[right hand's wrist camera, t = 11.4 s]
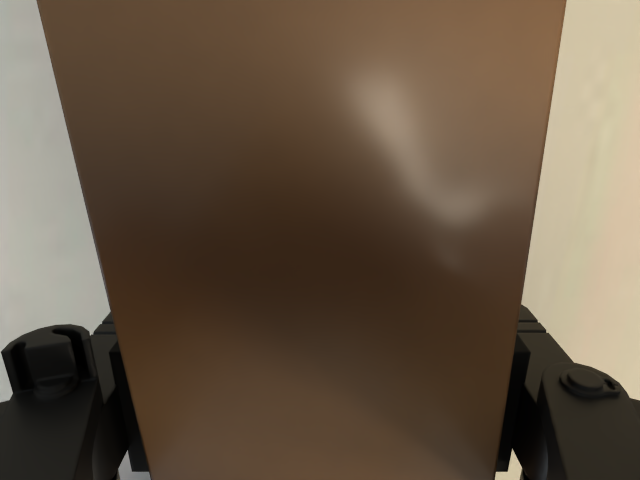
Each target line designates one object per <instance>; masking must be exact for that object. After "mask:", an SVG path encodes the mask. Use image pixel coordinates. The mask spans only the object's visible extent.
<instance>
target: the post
mask: <svg viewBox="0 0 640 480" xmlns="http://www.w3.org/2000/svg"><path fill="white" fill-rule="evenodd" d="M566 1H567V0H37V4H38V8H39V13H40V17H41V21H42V25H43V29H44V33H45V38H46V42H47V46H48V50H49V54H50V59H51V63H52V67H53V71H54V75H55V79H56V84H57V88H58V92H59V96H60V100H61V105H62V109H63V113H64V117H65V121H66V126H67V130H68V134H69V138H70V142H71V146H72V151H73V155H74V159H75V163H76V167H77V172H78V176H79V180H80V184H81V188H82V193H83V197H84V201H85V205H86V209H87V213H88V218H89V222H90V226H91V230H92V234H93V239H94V243H95V247H96V251H97V255H98V259H99V264H100V268H101V272H102V276H103V280H104V285H105V289H106V293H107V297H108V301H109V306H110V310H111V314H112V318H113V322H114V326H115V331H116V335H117V339H118V343H119V347H120V352H121V356H122V360H123V364H124V368H125V372H126V377H127V381H128V385H129V389H130V393H131V398H132V402H133V406H134V410H135V414H136V419H137V423H138V427H139V431H140V435H141V439H142V444H143V448H144V452H145V456H146V460H147V465H148V469H149V473H150V477H151V480H495V474H496V467H497V460H498V454H499V447H500V440H501V434H502V427H503V420H504V414H505V407H506V400H507V394H508V387H509V380H510V374H511V367H512V360H513V354H514V347H515V340H516V334H517V327H518V320H519V314H520V307H521V300H522V294H523V287H524V280H525V274H526V267H527V260H528V254H529V247H530V240H531V234H532V227H533V220H534V214H535V207H536V200H537V194H538V187H539V180H540V174H541V167H542V160H543V154H544V147H545V140H546V134H547V127H548V120H549V114H550V107H551V100H552V94H553V87H554V80H555V74H556V67H557V60H558V54H559V47H560V40H561V34H562V27H563V20H564V14H565V7H566Z"/></svg>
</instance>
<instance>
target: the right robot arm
mask: <svg viewBox="0 0 640 480" xmlns="http://www.w3.org/2000/svg"><path fill="white" fill-rule="evenodd" d="M1 354H2V357H3V360H4V364H5V367H6V371H7V374H8V377H9V381H10V384H11V387H12V391H13V395H12V397H11V399H10V400H9V401H5V402H1V403H0V480H120V476H119V471H118V468H119V466H120V464H121V462H122V460H123V458H124V456H125V454H126V452H127V450H128V454H129V459H130V464H131V469H132V472H149V469H148V465H147V460H146V456H145V452H144V448H143V444H142V439H141V435H140V431H139V427H138V423H137V419H136V414H135V410H134V406H133V402H132V398H131V393H130V389H129V385H128V381H127V377H126V372H125V368H124V364H123V360H122V356H121V352H120V347H119V343H118V339H117V335H116V331H115V326H114V322H113V318H112V314H111V312H110V313H109V314H108V316H107V317H106V318H105V319H104V320H103V321H102V324H100V325H99V326H98V327H97V329H96V330H95V331H94V334H93V335H91V336H90V334H89V331H88V330H86V329H85V328H84V327H82V326H77V325H72V324H66V325H53V326H49V327H44V328H40V329H37V330H34V331H32V332H29V333H26V334H24V335H22V336H20V337H19V338H17V339H15V340H14V341H12V342H10V343H9V344H8V345H7V346H6V347H5V348H4V349H3V350H2V351H1ZM512 448H513V450H514V452H515V454H516V456H517V458H518V460H519V462H520V464H521V466H522V471H521V476H520V480H640V401H639V400H635V399H631V398H629V396H628V394H627V392H626V391H625V390H624V388H623V387H622V386H621V385H620V383H619V382H617V381H616V380H614V379H613V378H612V377H610V376H609V375H607V374H606V373H603V372H601V371H599V370H597V369H595V368H592V367H589V366H585V365H581V364H577V363H574V362H573V361H572V360H571V359H570V357H569V356H568V355H567V354H566V353H565V352H564V350H563V349H562V348H561V347H560V346H559V345H558V343H557V342H556V341H555V340H554V339H553V338H552V336H551V335H550V334H549V333H546V329H545V328H544V327H543V326H542V325H541V324H540V323H538V320H537V319H536V318H535V317H534V315H533V314H532V313H531V312H530V311H529V310H528V308H526V307H525V306H523V305H521V307H520V314H519V320H518V327H517V334H516V340H515V347H514V354H513V360H512V367H511V374H510V380H509V387H508V394H507V400H506V407H505V414H504V420H503V427H502V434H501V440H500V447H499V454H498V460H497V467H496V472H508V467H509V462H510V457H511V451H512Z"/></svg>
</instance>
